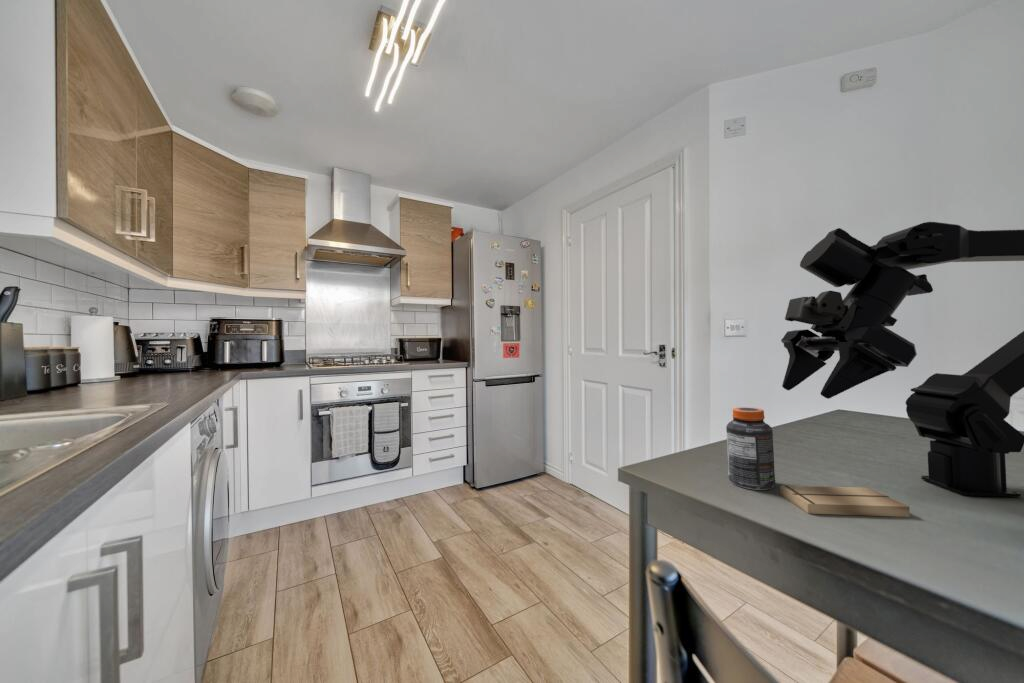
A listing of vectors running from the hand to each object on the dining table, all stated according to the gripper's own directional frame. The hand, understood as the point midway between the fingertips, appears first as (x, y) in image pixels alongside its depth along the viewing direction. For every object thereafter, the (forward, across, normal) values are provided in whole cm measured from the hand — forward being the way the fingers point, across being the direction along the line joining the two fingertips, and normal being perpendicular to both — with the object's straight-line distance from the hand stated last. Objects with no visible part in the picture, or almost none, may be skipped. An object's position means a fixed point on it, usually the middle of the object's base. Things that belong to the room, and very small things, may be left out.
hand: (803, 392), depth 55 cm
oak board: (+11, +7, +8) cm, 15 cm away
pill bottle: (+16, 0, +2) cm, 16 cm away
